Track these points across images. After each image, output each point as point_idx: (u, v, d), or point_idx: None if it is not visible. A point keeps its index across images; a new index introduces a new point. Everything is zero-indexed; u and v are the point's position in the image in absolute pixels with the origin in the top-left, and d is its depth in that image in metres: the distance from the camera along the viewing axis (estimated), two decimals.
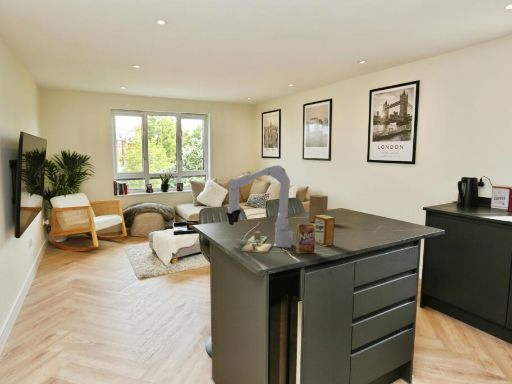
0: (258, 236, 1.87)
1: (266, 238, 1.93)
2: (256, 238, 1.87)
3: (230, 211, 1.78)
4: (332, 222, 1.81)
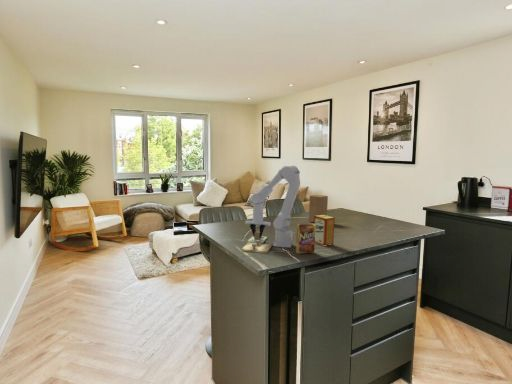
0: (258, 236, 1.87)
1: (266, 238, 1.93)
2: (256, 238, 1.87)
3: None
4: (331, 222, 1.81)
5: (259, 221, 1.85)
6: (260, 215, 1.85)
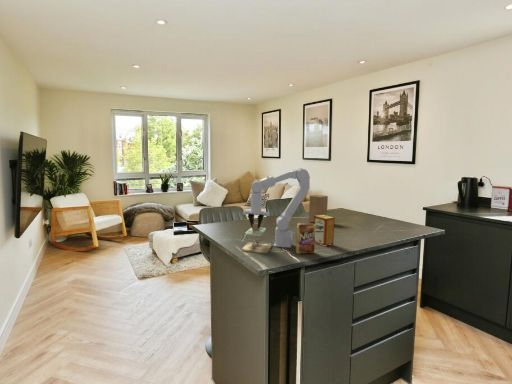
0: (256, 227, 1.78)
1: (265, 229, 1.84)
2: (254, 230, 1.78)
3: None
4: (331, 222, 1.81)
5: (257, 211, 1.75)
6: (258, 204, 1.75)
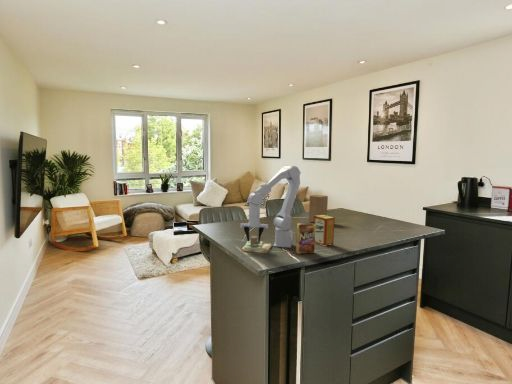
0: (255, 241, 1.72)
1: (262, 243, 1.79)
2: None
3: (240, 225, 1.72)
4: (331, 222, 1.81)
5: (256, 223, 1.69)
6: (257, 217, 1.69)
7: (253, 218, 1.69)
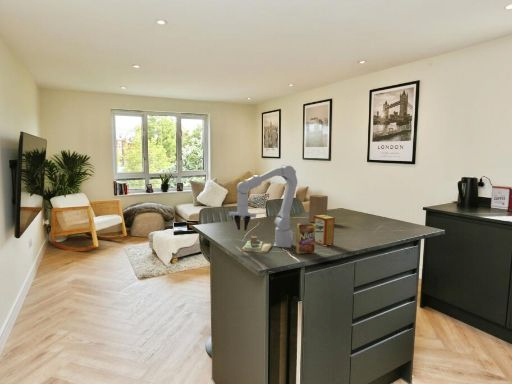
0: (255, 241, 1.72)
1: (262, 243, 1.79)
2: None
3: None
4: (331, 222, 1.81)
5: (244, 212, 1.70)
6: (245, 205, 1.70)
7: (240, 207, 1.70)
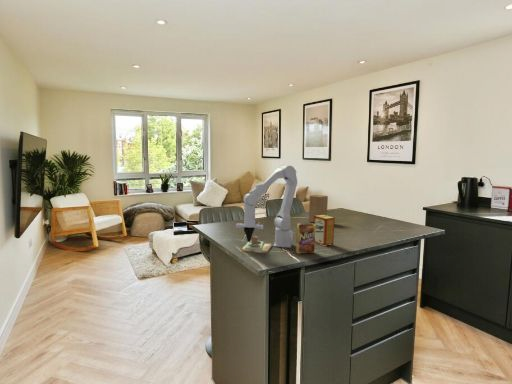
0: (256, 241, 1.72)
1: None
2: None
3: (236, 225, 1.74)
4: (332, 222, 1.81)
5: (251, 224, 1.70)
6: (252, 217, 1.70)
7: (248, 218, 1.70)
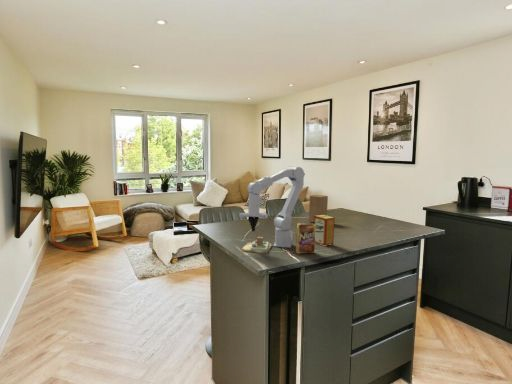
0: (261, 242, 1.71)
1: (268, 243, 1.78)
2: (259, 244, 1.71)
3: (240, 215, 1.72)
4: (332, 222, 1.81)
5: (256, 213, 1.69)
6: (257, 206, 1.69)
7: (253, 207, 1.68)
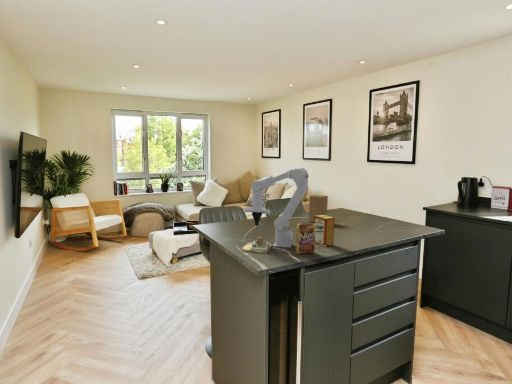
0: (261, 242, 1.71)
1: (268, 243, 1.78)
2: (259, 244, 1.71)
3: None
4: (331, 222, 1.81)
5: (258, 209, 1.82)
6: (259, 202, 1.82)
7: (256, 203, 1.82)
